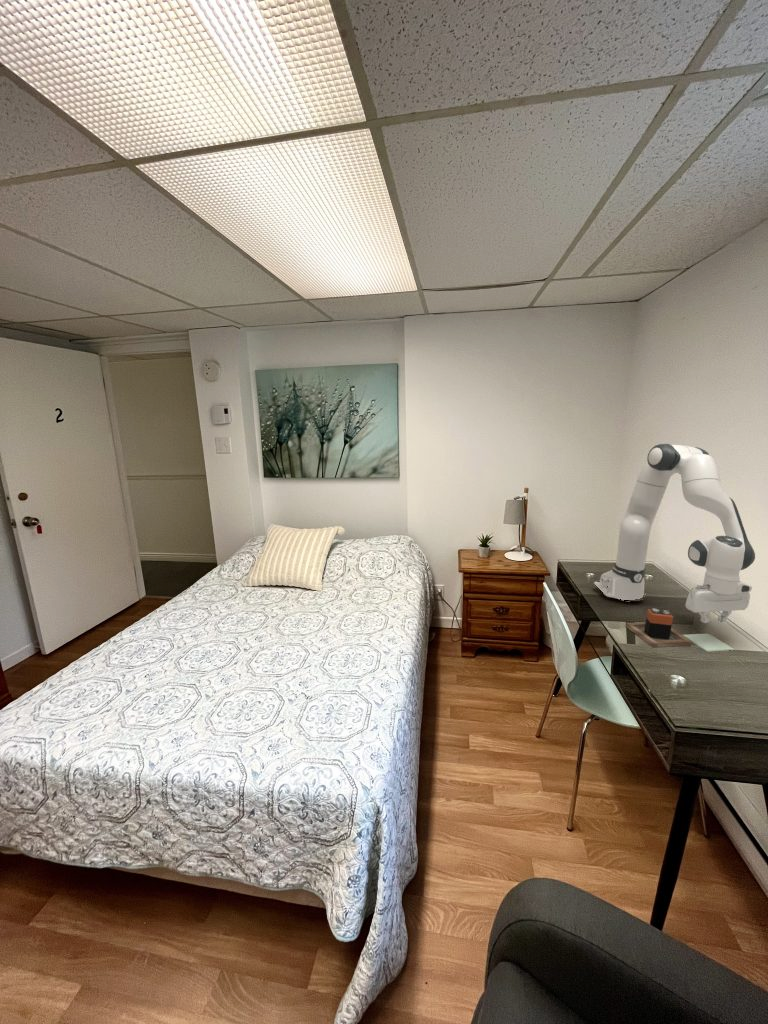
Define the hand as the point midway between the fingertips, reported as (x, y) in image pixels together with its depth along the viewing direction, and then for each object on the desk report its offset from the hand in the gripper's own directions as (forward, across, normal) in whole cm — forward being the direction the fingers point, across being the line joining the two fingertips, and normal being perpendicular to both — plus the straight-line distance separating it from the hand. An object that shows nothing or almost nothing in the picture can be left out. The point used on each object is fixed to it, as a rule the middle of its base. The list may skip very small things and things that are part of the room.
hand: (713, 621), depth 136 cm
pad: (+8, 0, 0) cm, 8 cm away
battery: (+8, -14, +6) cm, 18 cm away
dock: (+8, -14, +6) cm, 18 cm away
